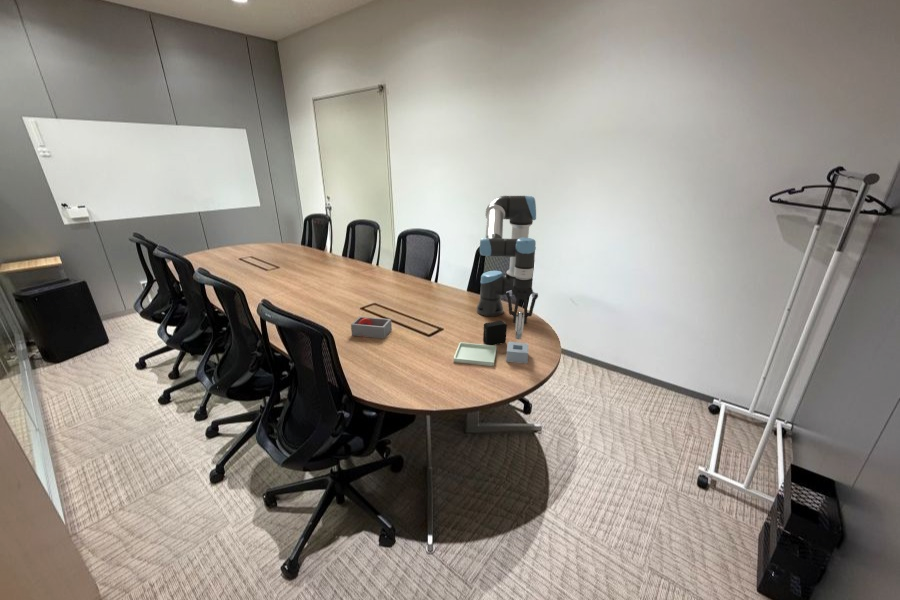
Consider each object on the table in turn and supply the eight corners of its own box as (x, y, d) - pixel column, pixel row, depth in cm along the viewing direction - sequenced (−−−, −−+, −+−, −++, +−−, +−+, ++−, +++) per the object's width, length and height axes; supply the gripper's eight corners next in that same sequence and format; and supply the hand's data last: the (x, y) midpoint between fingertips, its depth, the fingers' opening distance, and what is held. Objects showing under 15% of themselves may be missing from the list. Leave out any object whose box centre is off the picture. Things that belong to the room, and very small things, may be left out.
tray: (459, 345, 170) (459, 342, 169) (496, 349, 167) (496, 345, 166) (453, 361, 156) (453, 358, 155) (493, 366, 153) (493, 362, 152)
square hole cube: (507, 351, 165) (507, 341, 163) (527, 353, 163) (528, 343, 161) (506, 361, 156) (506, 351, 155) (527, 363, 155) (528, 353, 153)
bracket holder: (360, 327, 188) (359, 316, 186) (391, 330, 185) (391, 319, 183) (352, 335, 179) (350, 324, 177) (384, 338, 176) (383, 327, 174)
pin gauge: (515, 336, 157) (517, 311, 153) (521, 337, 157) (523, 311, 153) (515, 339, 155) (517, 313, 151) (521, 339, 155) (523, 313, 151)
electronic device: (482, 342, 173) (483, 323, 169) (501, 339, 176) (502, 320, 173) (486, 346, 169) (487, 326, 166) (505, 342, 173) (507, 323, 169)
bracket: (362, 337, 178) (361, 323, 175) (358, 334, 181) (357, 319, 179) (384, 331, 184) (383, 317, 181) (381, 328, 188) (380, 314, 185)
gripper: (504, 278, 144) (500, 332, 153) (542, 281, 142) (537, 335, 150) (505, 273, 151) (502, 325, 160) (541, 275, 149) (536, 328, 157)
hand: (519, 330), depth 155 cm, fingers closed on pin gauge, 2 cm apart
